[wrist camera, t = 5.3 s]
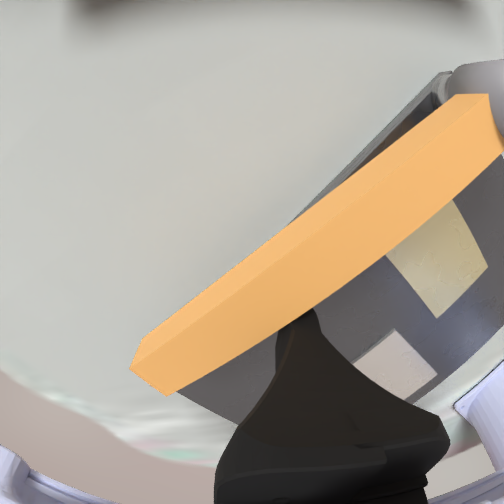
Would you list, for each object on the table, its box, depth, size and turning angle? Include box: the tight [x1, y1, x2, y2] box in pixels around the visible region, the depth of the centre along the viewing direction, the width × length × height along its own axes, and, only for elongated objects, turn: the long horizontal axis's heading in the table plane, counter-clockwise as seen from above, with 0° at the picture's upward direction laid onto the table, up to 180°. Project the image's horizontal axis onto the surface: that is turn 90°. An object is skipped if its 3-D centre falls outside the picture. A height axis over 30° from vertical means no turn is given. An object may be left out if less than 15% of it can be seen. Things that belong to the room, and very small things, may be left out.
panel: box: [176, 71, 504, 425], centre depth 14 cm, size 15×21×2 cm
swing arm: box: [129, 59, 504, 397], centre depth 9 cm, size 18×3×3 cm, turn 130°
